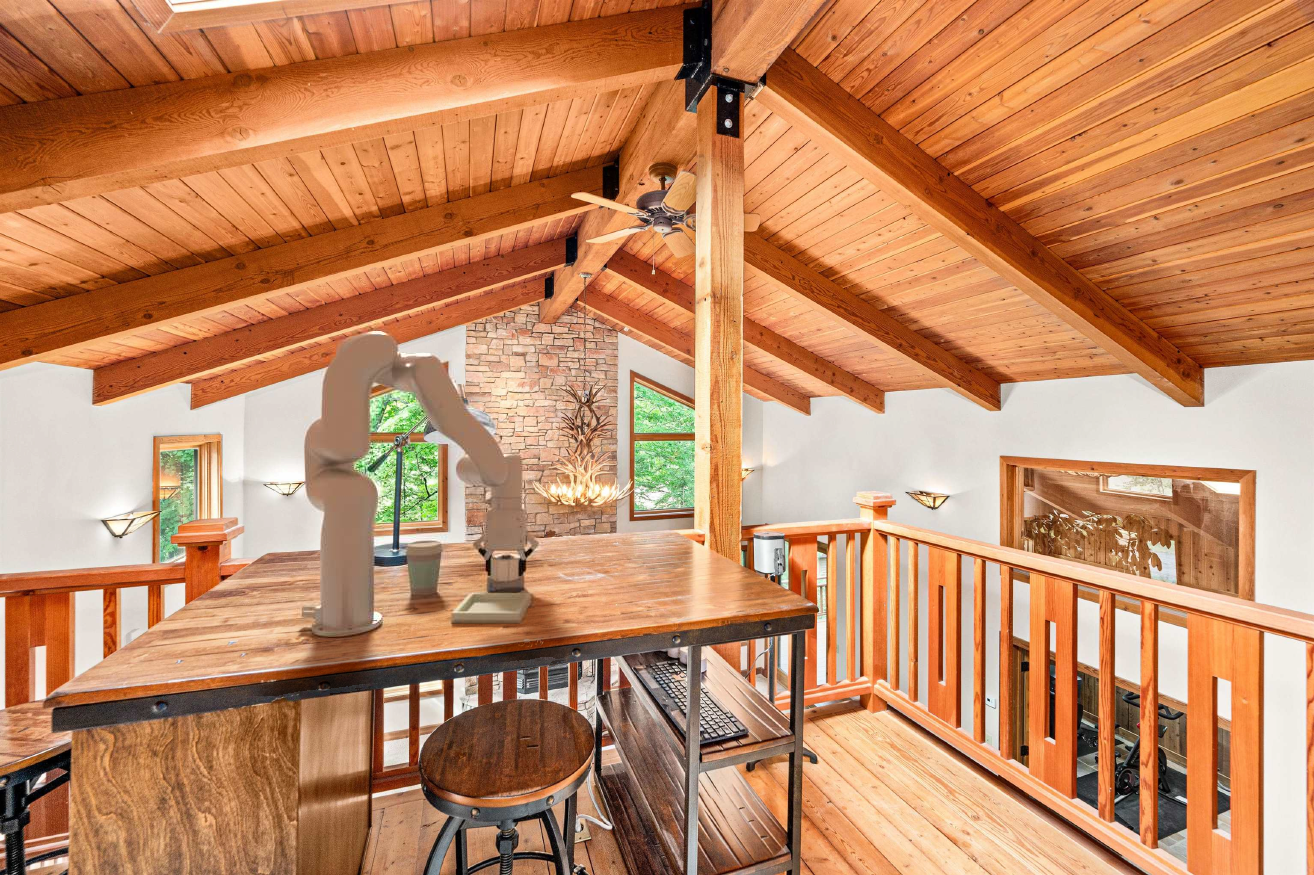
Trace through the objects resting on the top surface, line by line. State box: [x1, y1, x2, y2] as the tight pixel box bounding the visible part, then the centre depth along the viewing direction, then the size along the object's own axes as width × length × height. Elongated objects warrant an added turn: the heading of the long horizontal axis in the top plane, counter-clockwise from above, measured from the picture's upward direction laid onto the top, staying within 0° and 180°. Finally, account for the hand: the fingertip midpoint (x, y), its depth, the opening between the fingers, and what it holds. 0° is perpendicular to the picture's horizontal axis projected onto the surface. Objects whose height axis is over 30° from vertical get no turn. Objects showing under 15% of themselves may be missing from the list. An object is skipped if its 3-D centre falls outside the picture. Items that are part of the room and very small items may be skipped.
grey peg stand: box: [486, 553, 525, 593], centre depth 143 cm, size 9×9×8 cm
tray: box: [450, 592, 532, 624], centre depth 127 cm, size 14×14×2 cm
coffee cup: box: [404, 539, 444, 597], centre depth 140 cm, size 8×8×12 cm
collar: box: [491, 553, 521, 581], centre depth 143 cm, size 7×7×5 cm
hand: (505, 574), depth 143 cm, fingers closed on collar, 7 cm apart
